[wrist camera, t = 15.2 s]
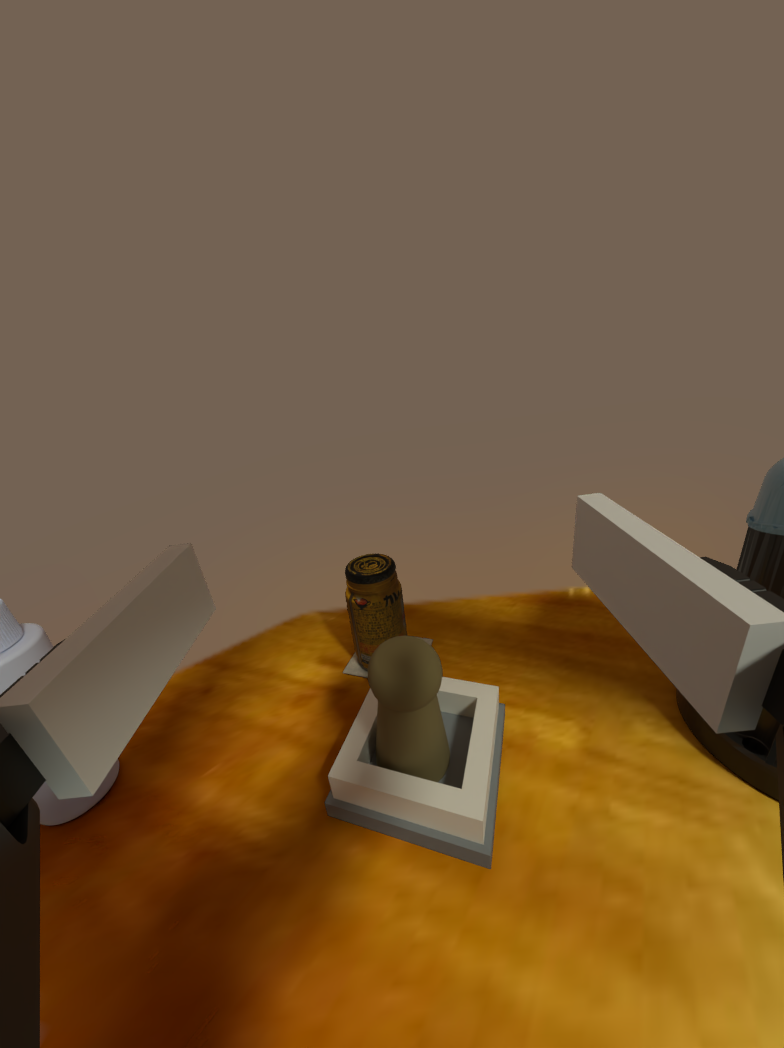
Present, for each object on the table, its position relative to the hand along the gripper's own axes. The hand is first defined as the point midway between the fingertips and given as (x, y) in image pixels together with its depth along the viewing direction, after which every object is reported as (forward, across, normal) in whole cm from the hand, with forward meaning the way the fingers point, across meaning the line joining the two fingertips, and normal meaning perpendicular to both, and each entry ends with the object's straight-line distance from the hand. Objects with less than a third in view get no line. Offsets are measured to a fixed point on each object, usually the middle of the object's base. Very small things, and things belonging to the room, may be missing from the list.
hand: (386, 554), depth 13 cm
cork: (+9, -1, -24) cm, 25 cm away
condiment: (+22, -3, -25) cm, 34 cm away
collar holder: (+10, 0, -25) cm, 27 cm away
